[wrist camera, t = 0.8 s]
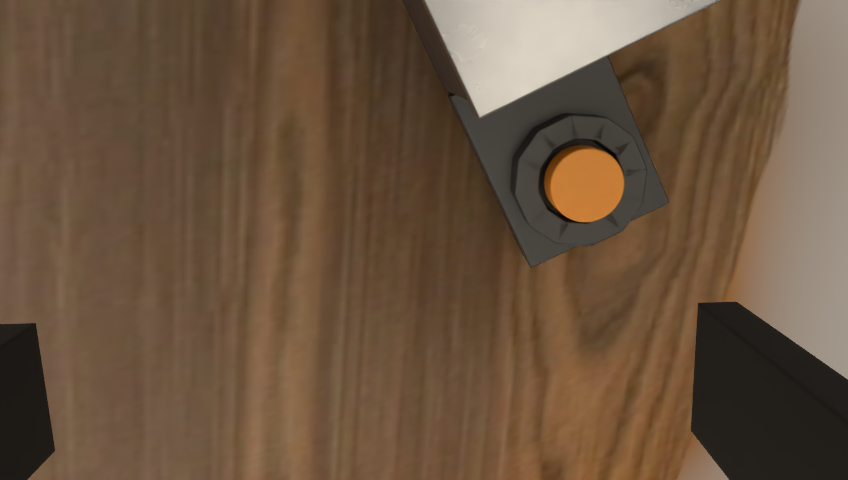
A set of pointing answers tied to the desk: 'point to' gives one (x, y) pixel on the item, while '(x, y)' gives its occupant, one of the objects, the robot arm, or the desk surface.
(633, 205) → the button base
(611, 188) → the button
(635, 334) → the desk surface
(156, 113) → the desk surface
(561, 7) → the coffee machine
